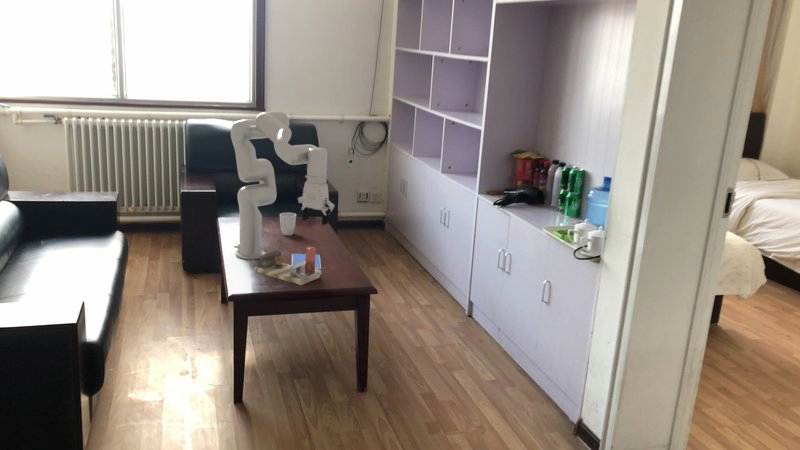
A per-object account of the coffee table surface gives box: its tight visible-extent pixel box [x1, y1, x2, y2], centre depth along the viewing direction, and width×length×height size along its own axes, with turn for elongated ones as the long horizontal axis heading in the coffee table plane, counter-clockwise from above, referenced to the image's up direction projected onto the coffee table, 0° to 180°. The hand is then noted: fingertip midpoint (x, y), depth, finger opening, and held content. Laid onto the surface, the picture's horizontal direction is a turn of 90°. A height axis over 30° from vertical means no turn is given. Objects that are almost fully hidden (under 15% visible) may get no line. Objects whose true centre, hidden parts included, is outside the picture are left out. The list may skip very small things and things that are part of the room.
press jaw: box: [290, 246, 322, 280], centre depth 274 cm, size 9×9×12 cm
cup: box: [279, 212, 297, 236], centre depth 336 cm, size 8×8×10 cm
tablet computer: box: [291, 253, 322, 270], centre depth 298 cm, size 19×13×1 cm, turn 9°
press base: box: [256, 250, 321, 286], centre depth 280 cm, size 23×12×7 cm, turn 60°
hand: (315, 221), depth 270 cm, fingers open, 9 cm apart
